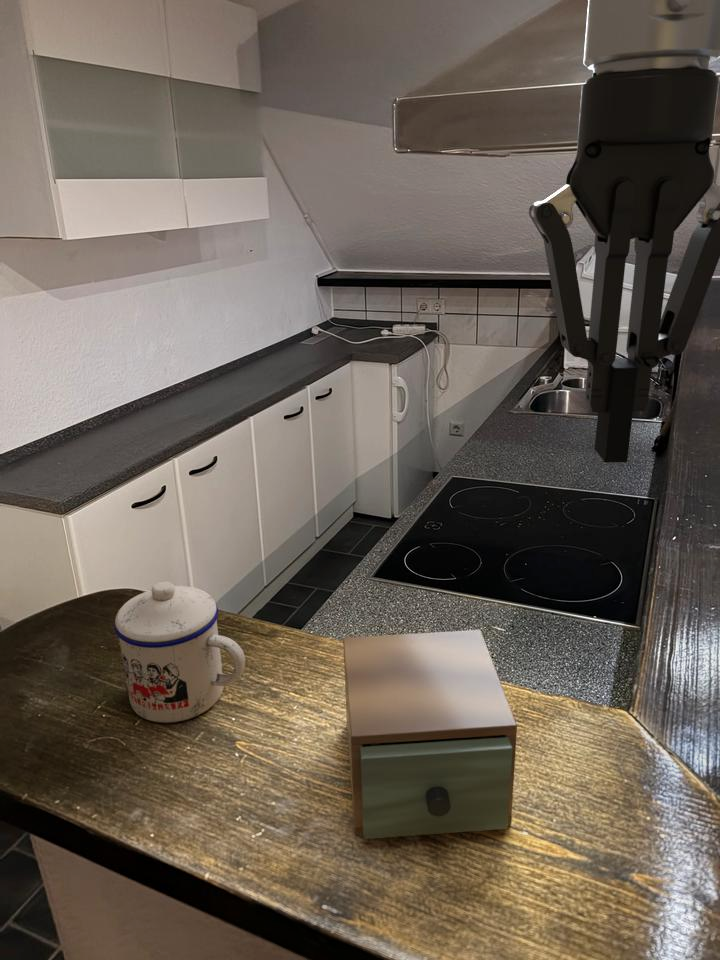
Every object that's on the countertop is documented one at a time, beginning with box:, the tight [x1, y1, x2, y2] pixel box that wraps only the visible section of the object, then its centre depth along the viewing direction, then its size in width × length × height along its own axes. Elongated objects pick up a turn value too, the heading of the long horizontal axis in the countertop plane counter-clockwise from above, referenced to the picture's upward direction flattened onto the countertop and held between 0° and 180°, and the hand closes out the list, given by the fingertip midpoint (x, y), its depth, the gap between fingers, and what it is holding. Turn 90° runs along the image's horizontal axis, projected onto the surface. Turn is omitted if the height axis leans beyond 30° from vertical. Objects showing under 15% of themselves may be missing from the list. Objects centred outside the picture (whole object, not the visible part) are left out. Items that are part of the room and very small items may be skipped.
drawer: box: [360, 736, 512, 840], centre depth 58 cm, size 12×10×7 cm
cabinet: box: [342, 629, 518, 837], centre depth 60 cm, size 12×12×9 cm
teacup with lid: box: [113, 580, 246, 724], centre depth 69 cm, size 12×9×12 cm
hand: (610, 455), depth 53 cm, fingers closed
